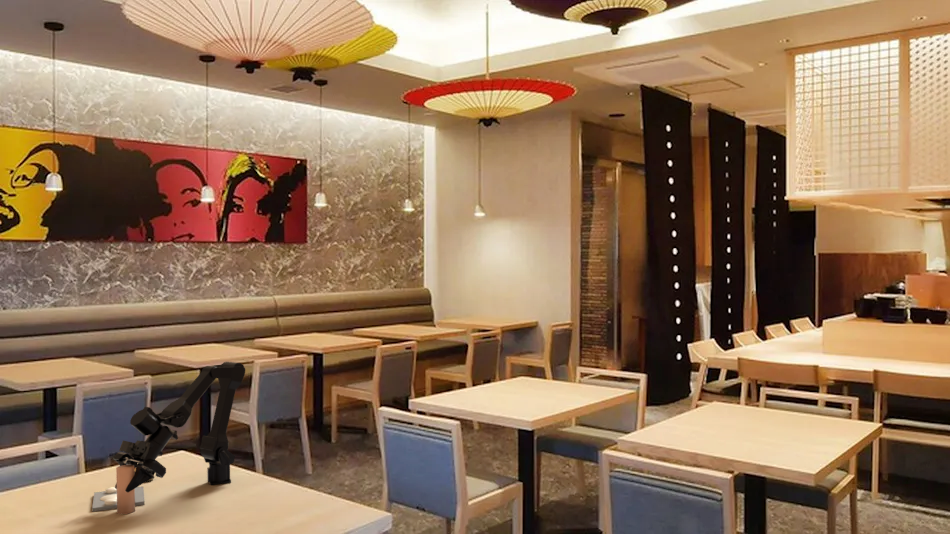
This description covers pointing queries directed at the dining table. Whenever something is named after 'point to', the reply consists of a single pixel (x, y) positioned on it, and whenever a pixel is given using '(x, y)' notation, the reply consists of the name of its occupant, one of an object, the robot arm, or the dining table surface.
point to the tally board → (114, 499)
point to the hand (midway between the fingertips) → (121, 490)
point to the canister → (125, 498)
